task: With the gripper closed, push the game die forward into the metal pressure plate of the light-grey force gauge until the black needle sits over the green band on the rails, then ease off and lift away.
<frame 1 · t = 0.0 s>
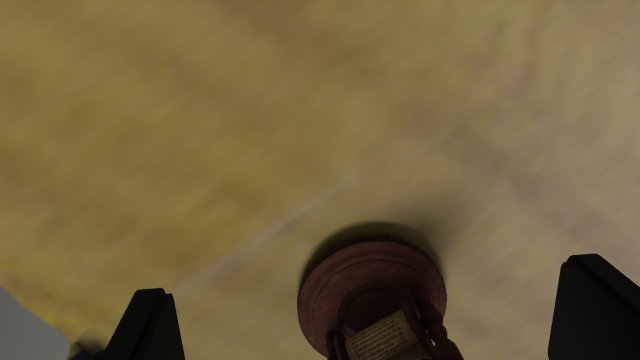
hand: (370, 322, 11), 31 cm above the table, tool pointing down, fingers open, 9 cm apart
dark brown upright piece: (368, 291, 48), on the table
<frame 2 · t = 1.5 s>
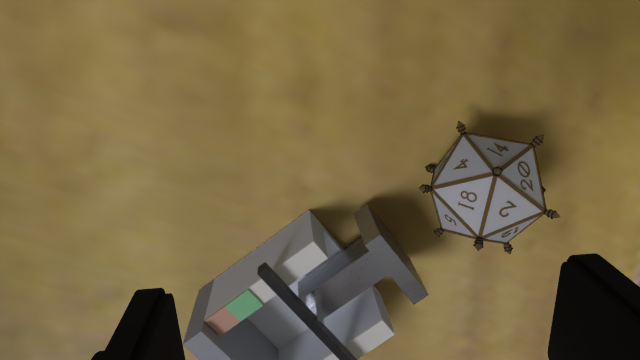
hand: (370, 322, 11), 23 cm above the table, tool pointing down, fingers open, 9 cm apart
plunger: (352, 279, 33), point 4 cm above the table, slide at 0.0 cm
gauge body: (291, 291, 38), on the table
game die: (462, 169, 35), on the table
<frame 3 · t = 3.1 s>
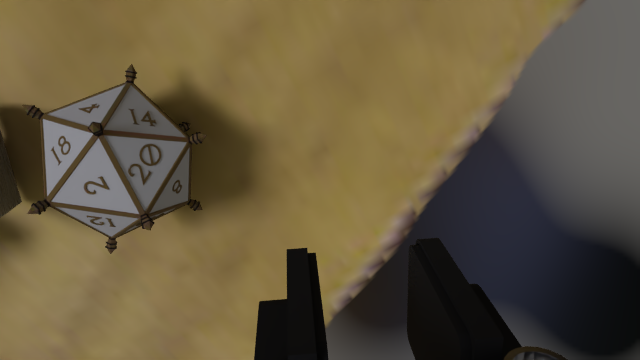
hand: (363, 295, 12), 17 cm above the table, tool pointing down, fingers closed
game die: (143, 139, 28), on the table
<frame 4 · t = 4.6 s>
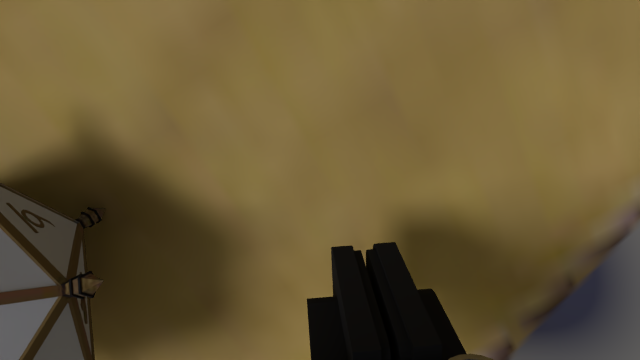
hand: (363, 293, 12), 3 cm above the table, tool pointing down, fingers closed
game die: (20, 236, 15), on the table
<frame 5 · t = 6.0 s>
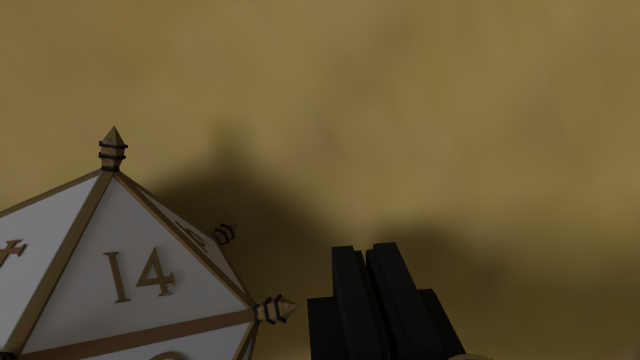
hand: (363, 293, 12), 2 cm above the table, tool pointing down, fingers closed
game die: (143, 253, 14), on the table, touching gripper
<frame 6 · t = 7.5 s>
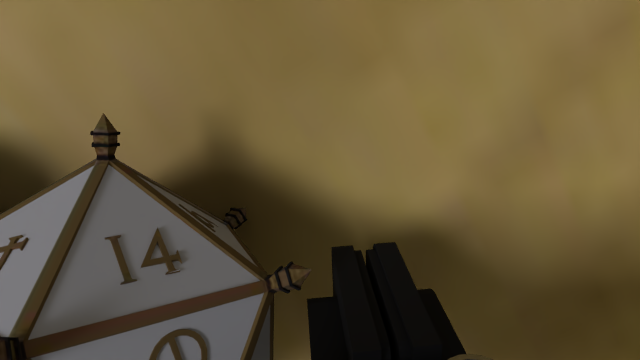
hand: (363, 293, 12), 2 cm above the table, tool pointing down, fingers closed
game die: (159, 248, 14), on the table, touching gripper, plunger
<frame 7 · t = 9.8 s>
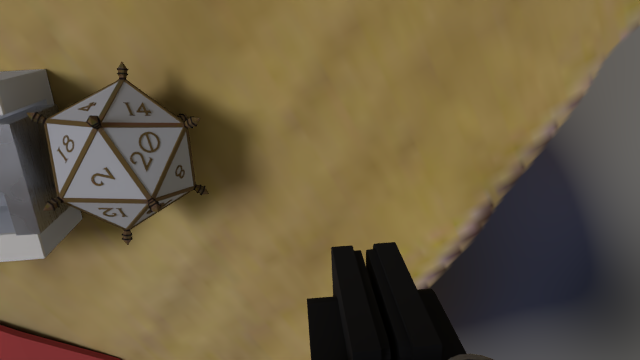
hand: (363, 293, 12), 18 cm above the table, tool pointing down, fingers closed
game die: (146, 136, 29), on the table
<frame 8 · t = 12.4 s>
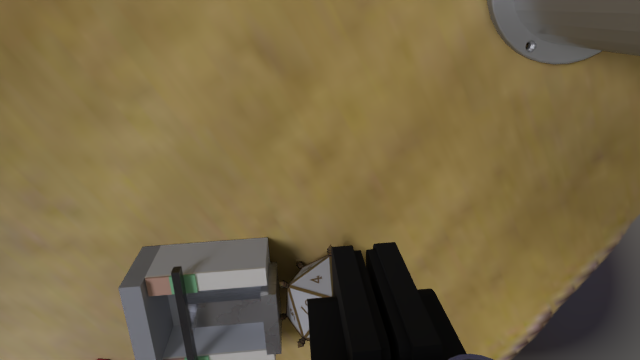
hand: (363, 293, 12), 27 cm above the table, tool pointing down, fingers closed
plunger: (233, 311, 40), point 4 cm above the table, slide at 3.1 cm
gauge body: (212, 288, 43), on the table
game die: (324, 274, 44), on the table
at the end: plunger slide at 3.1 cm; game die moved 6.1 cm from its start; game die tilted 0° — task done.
